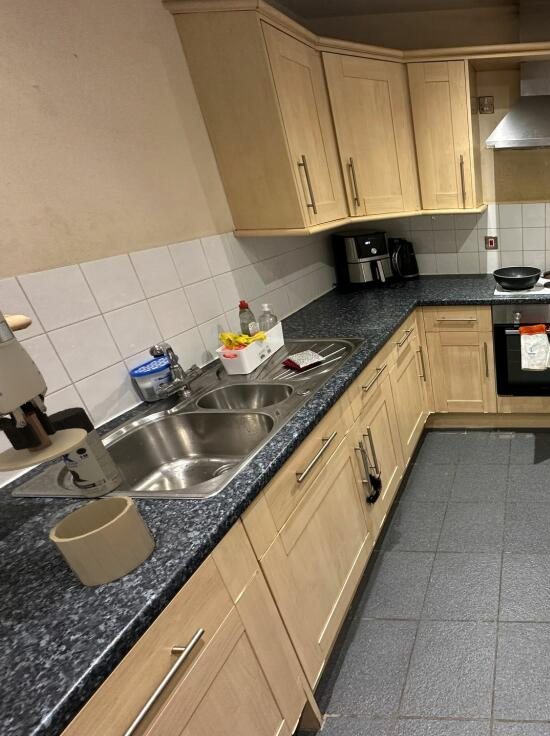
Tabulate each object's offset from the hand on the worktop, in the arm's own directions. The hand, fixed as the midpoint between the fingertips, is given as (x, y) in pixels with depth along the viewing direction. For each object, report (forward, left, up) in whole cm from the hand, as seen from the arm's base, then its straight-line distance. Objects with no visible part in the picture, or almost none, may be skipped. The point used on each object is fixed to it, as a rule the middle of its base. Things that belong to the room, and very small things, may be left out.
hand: (36, 440), depth 67 cm
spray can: (-10, +23, -25) cm, 35 cm away
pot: (+4, -4, -25) cm, 26 cm away
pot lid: (0, 0, -2) cm, 2 cm away
